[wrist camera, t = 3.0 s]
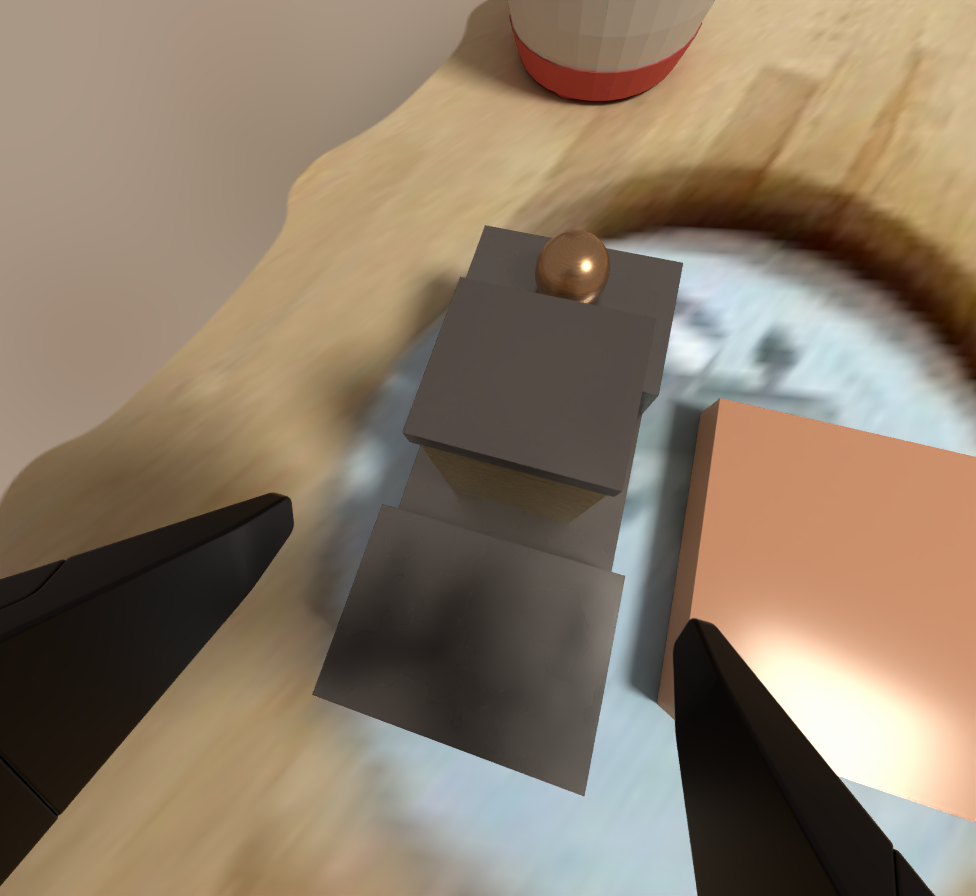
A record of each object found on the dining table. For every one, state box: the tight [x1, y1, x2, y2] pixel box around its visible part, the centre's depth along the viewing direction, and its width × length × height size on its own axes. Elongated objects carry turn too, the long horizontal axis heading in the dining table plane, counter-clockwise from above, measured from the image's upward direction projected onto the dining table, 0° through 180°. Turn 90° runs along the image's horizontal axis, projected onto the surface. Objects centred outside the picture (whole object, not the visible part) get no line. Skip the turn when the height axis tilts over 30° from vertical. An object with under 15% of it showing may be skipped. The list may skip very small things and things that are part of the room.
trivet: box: [657, 398, 976, 822], centre depth 17 cm, size 14×14×2 cm
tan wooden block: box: [403, 277, 657, 523], centre depth 13 cm, size 4×5×8 cm
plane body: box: [312, 226, 683, 796], centre depth 16 cm, size 20×9×8 cm, turn 164°
